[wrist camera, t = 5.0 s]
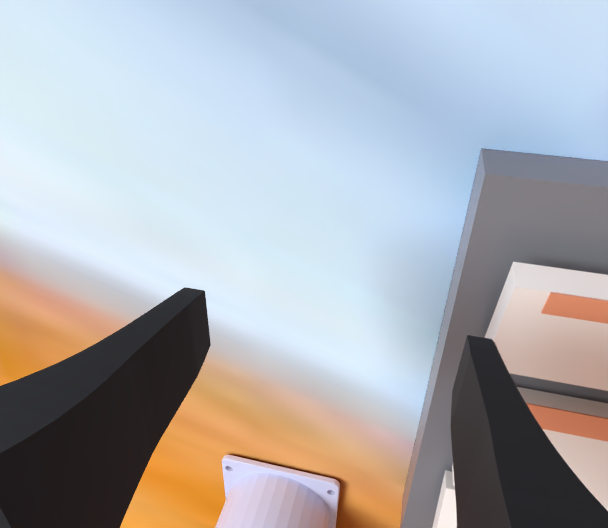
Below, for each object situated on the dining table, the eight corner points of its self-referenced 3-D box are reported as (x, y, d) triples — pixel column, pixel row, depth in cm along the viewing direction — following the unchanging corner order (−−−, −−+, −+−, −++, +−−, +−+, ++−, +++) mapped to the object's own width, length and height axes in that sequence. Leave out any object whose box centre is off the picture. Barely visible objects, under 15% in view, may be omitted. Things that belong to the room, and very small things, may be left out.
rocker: (669, 514, 22) (683, 538, 21) (451, 467, 24) (453, 487, 22) (706, 421, 20) (724, 441, 19) (471, 378, 22) (474, 394, 21)
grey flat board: (607, 542, 30) (618, 587, 28) (402, 496, 32) (399, 534, 30) (1012, -59, 13) (1113, -58, 11) (530, -71, 15) (543, -72, 13)
